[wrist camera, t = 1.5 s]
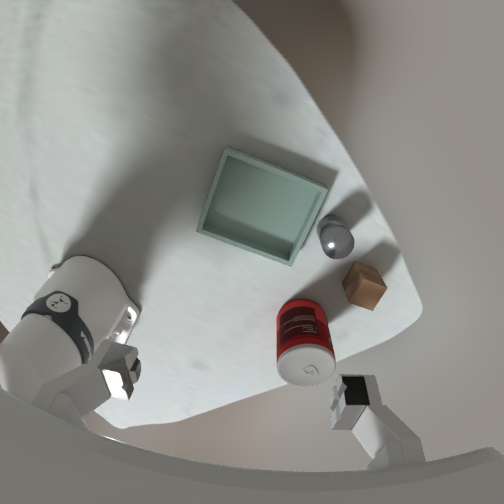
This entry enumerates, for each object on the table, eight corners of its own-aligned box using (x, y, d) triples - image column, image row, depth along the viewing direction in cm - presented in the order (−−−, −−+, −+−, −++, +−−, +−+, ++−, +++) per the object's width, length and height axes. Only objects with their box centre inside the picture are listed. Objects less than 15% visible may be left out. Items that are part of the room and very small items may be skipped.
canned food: (305, 343, 49) (310, 393, 39) (266, 322, 48) (264, 373, 38) (335, 312, 46) (348, 362, 36) (296, 288, 45) (301, 338, 35)
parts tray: (290, 258, 43) (291, 266, 40) (199, 224, 41) (195, 231, 39) (324, 185, 38) (328, 190, 36) (227, 146, 37) (224, 148, 34)
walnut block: (363, 291, 44) (372, 310, 40) (342, 283, 44) (349, 302, 40) (377, 270, 43) (387, 287, 38) (354, 261, 42) (363, 278, 38)
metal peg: (337, 246, 42) (344, 263, 37) (311, 236, 41) (316, 252, 37) (350, 221, 40) (359, 236, 35) (324, 210, 39) (331, 223, 35)
